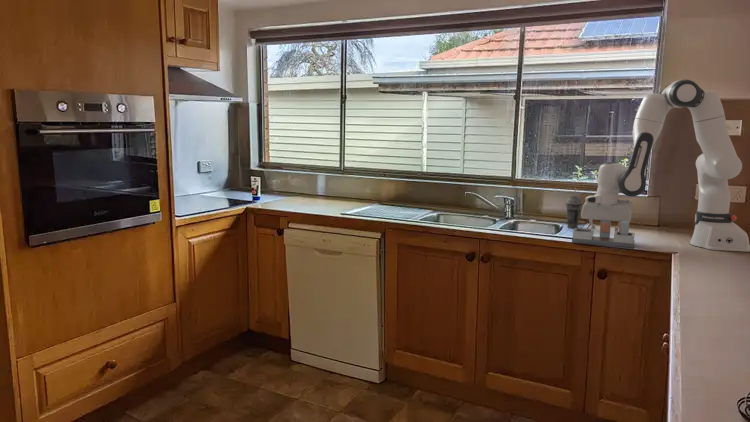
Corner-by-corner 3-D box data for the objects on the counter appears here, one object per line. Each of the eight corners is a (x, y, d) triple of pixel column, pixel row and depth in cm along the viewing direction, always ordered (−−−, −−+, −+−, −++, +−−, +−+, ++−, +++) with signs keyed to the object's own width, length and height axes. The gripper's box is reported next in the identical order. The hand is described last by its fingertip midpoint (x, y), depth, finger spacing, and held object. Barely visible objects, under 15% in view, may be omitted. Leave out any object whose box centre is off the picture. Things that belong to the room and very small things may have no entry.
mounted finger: (628, 240, 224) (629, 221, 223) (627, 242, 221) (629, 223, 219) (618, 239, 226) (619, 220, 225) (618, 241, 222) (619, 222, 221)
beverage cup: (578, 226, 266) (580, 186, 262) (582, 229, 258) (584, 187, 255) (563, 225, 266) (565, 185, 263) (566, 228, 259) (569, 187, 256)
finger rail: (634, 244, 225) (635, 232, 224) (633, 248, 218) (634, 236, 217) (574, 239, 236) (574, 227, 235) (571, 242, 229) (572, 231, 228)
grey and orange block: (609, 238, 236) (610, 221, 235) (609, 240, 233) (610, 222, 232) (599, 238, 238) (601, 220, 237) (599, 239, 235) (600, 221, 234)
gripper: (633, 199, 231) (631, 231, 233) (583, 196, 240) (581, 226, 242) (633, 201, 226) (630, 233, 228) (581, 198, 235) (579, 229, 237)
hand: (604, 230), depth 235 cm, fingers open, 8 cm apart
